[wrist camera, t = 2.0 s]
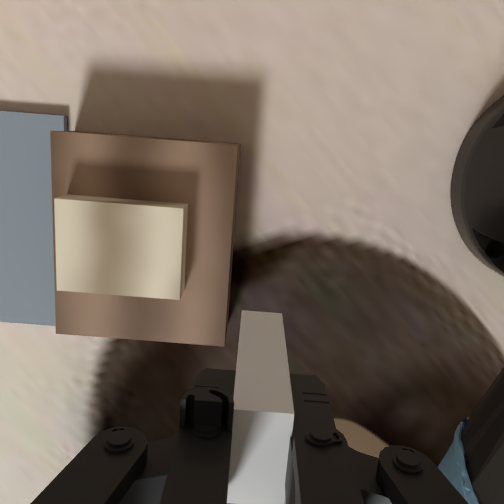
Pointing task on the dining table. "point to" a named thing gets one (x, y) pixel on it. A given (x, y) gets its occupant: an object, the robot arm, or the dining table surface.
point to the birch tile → (120, 246)
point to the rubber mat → (27, 218)
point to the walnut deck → (162, 190)
